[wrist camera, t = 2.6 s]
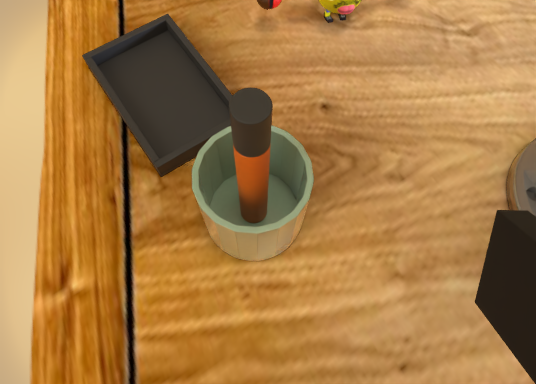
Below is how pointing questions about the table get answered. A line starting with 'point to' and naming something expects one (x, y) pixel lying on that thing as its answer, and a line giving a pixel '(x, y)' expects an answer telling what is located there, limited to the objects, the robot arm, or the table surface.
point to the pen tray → (162, 91)
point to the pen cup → (228, 205)
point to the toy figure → (341, 3)
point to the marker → (251, 149)
